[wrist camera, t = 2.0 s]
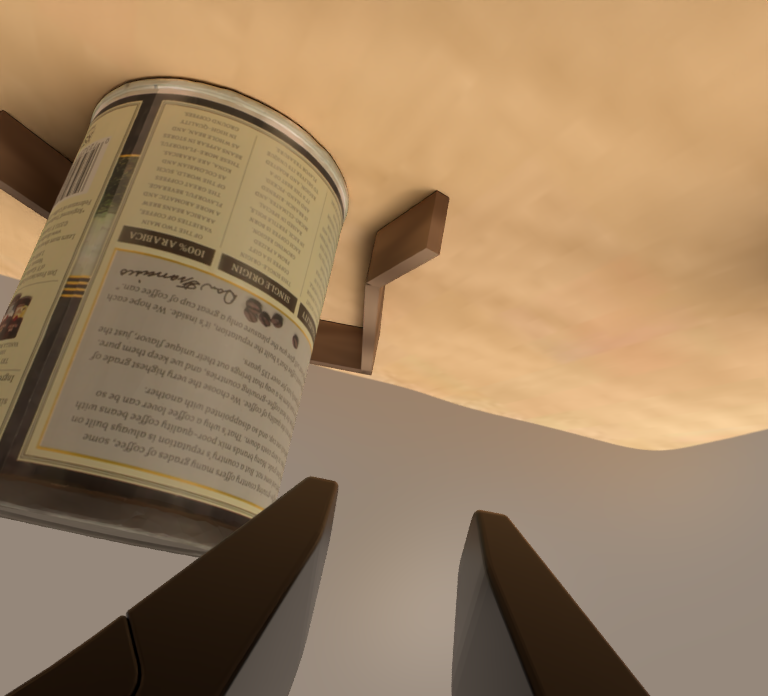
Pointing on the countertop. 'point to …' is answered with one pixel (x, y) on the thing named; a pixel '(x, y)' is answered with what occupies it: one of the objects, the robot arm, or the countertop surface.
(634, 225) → the countertop surface
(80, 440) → the coffee can
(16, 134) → the walnut keeper
